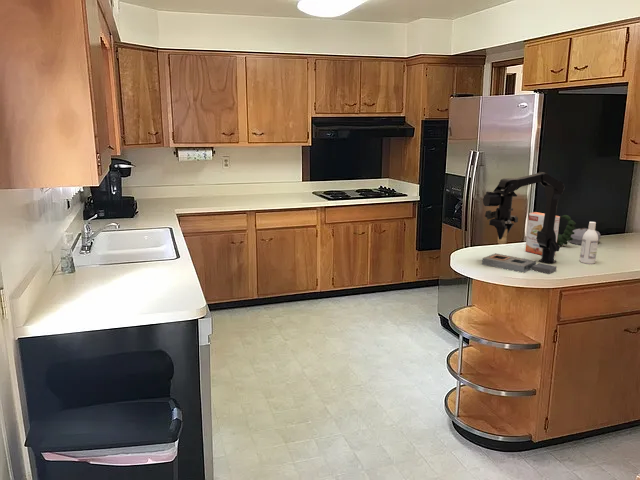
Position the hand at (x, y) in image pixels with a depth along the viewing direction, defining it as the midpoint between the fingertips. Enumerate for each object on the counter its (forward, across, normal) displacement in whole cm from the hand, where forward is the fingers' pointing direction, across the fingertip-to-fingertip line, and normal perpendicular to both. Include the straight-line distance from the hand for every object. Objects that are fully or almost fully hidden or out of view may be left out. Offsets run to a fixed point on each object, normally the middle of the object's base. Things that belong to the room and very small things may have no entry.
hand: (502, 238), depth 247 cm
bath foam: (+13, -36, +28) cm, 48 cm away
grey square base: (+12, -4, +19) cm, 23 cm away
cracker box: (+13, -36, +5) cm, 38 cm away
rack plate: (+12, 0, +4) cm, 13 cm away
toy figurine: (+13, -65, 0) cm, 66 cm away
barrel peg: (+2, 0, 0) cm, 2 cm away
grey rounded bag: (+13, -83, +12) cm, 85 cm away
